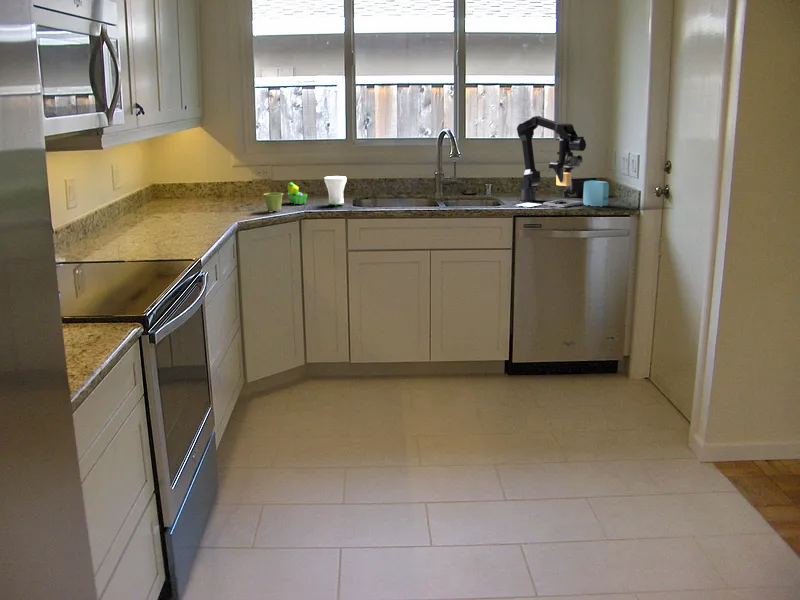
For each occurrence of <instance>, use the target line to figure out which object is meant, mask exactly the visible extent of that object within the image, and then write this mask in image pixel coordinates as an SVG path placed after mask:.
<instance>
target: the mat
mask: <svg viewBox="0 0 800 600" xmlns="http://www.w3.org/2000/svg"><path fill="white" fill-rule="evenodd" d="M539 205H542V206H543V204H541V203H533V202H524V203H519V204H515V207H519V206H523V207H522V208H527V207H533V208H535V207H534V206H538V207H540V206H539Z"/></svg>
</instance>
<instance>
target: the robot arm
mask: <svg viewBox="0 0 800 600" xmlns="http://www.w3.org/2000/svg"><path fill="white" fill-rule="evenodd" d="M539 126H540V127H542V128H544V129H548V130H551V131H553V132H554V133H555V134H556V135H558V136H557V138H555V140H556V141H559V144H558V145H559V147H558V151H557V152H556V155H558V159H557V160H556V161H553V162H552V161H551V162H549V163H548V169H553V171H554V172H555V174H556V176H558V179H559V181H560V182H561V183H562V181H563V174H564V173H572V171H573V170H574V169H576V167H580V165H581V163H583V155H581V154H580V155H577V156H576V155H574V152H575V151H576V152H577V151H578V152H583V151H585V150H586V147H587V143H586V140H585V137H584V136H578V133H577V132H576V130H575V127H574V125H573V124H572V123H568V122H567V123H566V122H557V121H555V120H551V119H548V118H545V117H542V116H540V115H535V116H532V117H531V118H529V119H527V120H526V121H524V122H522V123H519V124H518V125H517V127H516V132H517V136H518V137H519V139H520V141H521V145H522V152H523V159H524V173H523V178H522V181H521V182H520V183H519V184H518V187H519V190H521V196H520V197H521V199H519V201H522V202H527V203H531V202H535V201H537V199H536V189H538V186H539V184H540V182H541V179H542V178H541V172H540V170H537V169H536V165H535V158H534V157H535V156H534V148H533V138H534V134H535V133H534V132H535V130H536V129H537V128H538V127H539ZM573 151H574V152H573Z"/></svg>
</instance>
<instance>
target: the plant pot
mask: <svg viewBox="0 0 800 600" xmlns="http://www.w3.org/2000/svg"><path fill="white" fill-rule="evenodd" d="M283 195H284V193H283V192H265V193H263V196H264V198H265V203H266V207H267V208H266V209H267V211H268V210H269V211H274V210H281V211H282V199H283Z"/></svg>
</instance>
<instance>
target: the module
mask: <svg viewBox="0 0 800 600" xmlns="http://www.w3.org/2000/svg"><path fill="white" fill-rule="evenodd" d="M571 178H572V172H571V173H564V174H563V181H562V183H561V182H560V181H559V179H558V176H557V175H556V178H555V179H556V182H555V184H556V186H562V187H563V186H564V187H566V186H570V185H571Z"/></svg>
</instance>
